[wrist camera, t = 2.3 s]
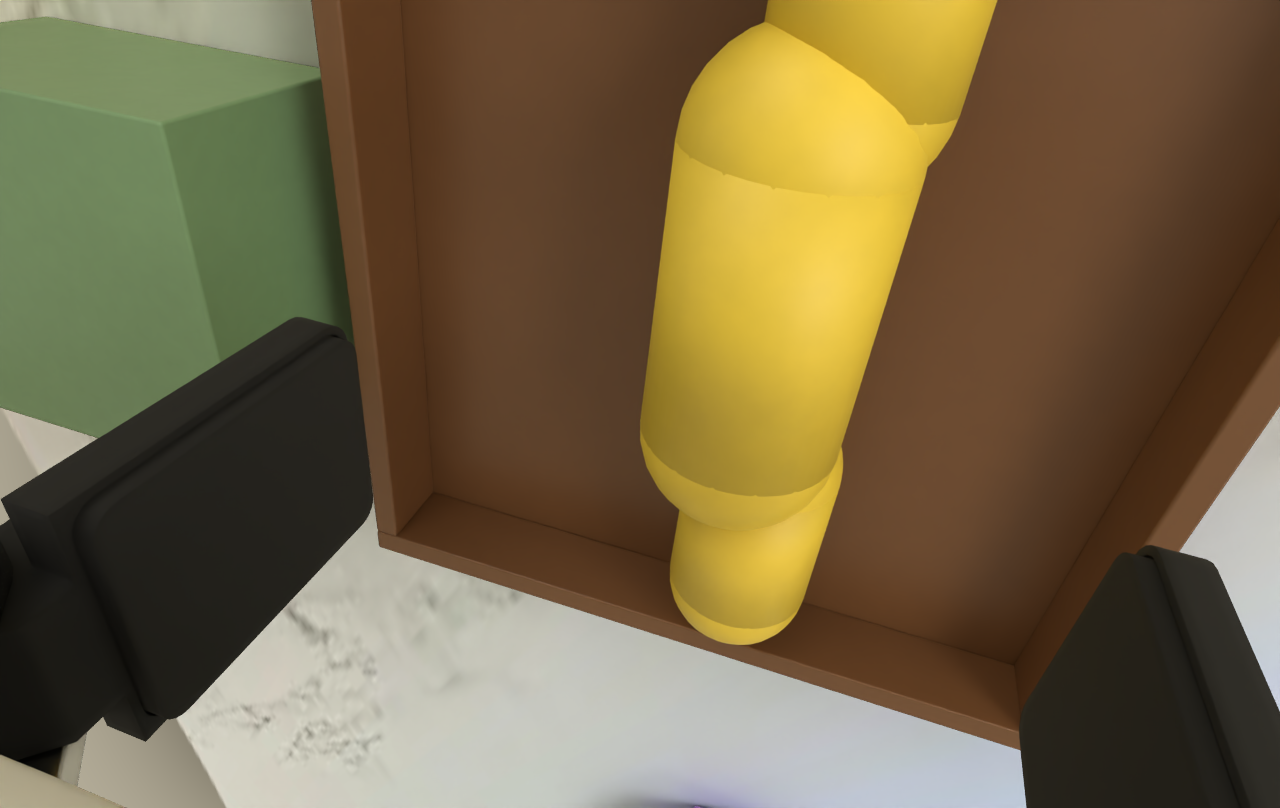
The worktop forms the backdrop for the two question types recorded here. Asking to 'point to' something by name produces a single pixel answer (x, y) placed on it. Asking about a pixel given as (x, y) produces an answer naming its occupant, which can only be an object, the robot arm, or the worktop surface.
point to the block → (152, 215)
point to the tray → (902, 350)
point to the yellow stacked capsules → (786, 281)
